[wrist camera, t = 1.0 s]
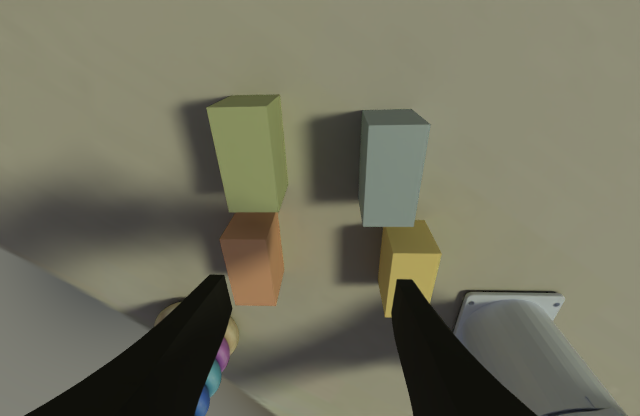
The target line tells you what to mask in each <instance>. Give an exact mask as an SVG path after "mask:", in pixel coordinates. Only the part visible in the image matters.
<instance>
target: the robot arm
mask: <svg viewBox="0 0 640 416" xmlns="http://www.w3.org/2000/svg"><path fill="white" fill-rule="evenodd" d="M470 301H471V302H470ZM564 301H565V297H564V296H563V295H562V294H560V293H511V292H469V293H467V294H466V295H465V298H464V301H463V304H462V307H461V310H460V313H459V316H458V319H457V323H456V326H455V329H454V332H452V331H451V330H450V329H449V328H448V326H447V325H446V324H445V323H444V321H443V320H442V319H441V318H440V316H439V315H438V314H437V313H436V311H435V310H434V309H433V307H432V306H431V305H430V303H429V302H428V301H427V299H426V298H425V296H424V295H423V294H422V292H421V291H420V289H419V288H418V286H417V285H416V284H415V282H414V281H413V280H412V279H397V281H396V287H395V293H394V299H393V305H392V311H391V316H392V324H393V331H394V337H395V342H396V346H397V350H398V353H399V357H400V361H401V365H402V369H403V373H404V377H405V381H406V385H407V388H408V392H409V396H410V401H411V405H412V410H413V416H627V414H626V413H625V412H624V411H623V409H622V408H621V407H620V405H619V404H618V403H617V402H616V400H615V399H614V398H613V397H612V395H611V394H610V393H609V392H608V390H607V389H606V388H605V387H604V385H603V384H602V383H601V381H600V380H599V379H598V378H597V376H596V375H595V374H594V373H593V371H592V370H591V369H590V368H589V366H588V365H587V364H586V363H585V361H584V360H583V359H582V357H581V356H580V355H579V354H578V352H577V351H576V350H575V349H574V347H573V346H572V345H571V344H570V342H569V341H568V340H567V338H566V337H565V336H564V335H563V333H562V332H561V331H560V330H559V328H558V327H557V326H556V325H555V323H554V322H553V320H554V318H555V316H556V315H557V313H558V311H559V309H560V308H561V306H562V304H563V302H564ZM231 312H232V305H231V301H230V297H229V293H228V289H227V284H226V280H225V276H224V275H209V276H208V277H207V278H206V279H205V280H204V281H203V282H202V283H201V284H200V285H199V286H198V287H197V288H196V289H195V290H193V291H192V292H191V293H190V294H189V295H188V296H187V297H186V298H185V299H184V300H183V301H182V302H181V303H180V304H179V305H178V306H177V307H176V308H175V309H174V310H173V311H171V312H170V313H169V314H168V315H167V316H166V317H165V318H164V319H163V320H162V321H160V322H159V323H158V324H157V325H156V326H155V327H154V328H152V329H151V330H150V331H149V332H148V333H147V334H145V335H144V336H143V337H142V338H141V339H139V340H138V341H137V342H136V343H134V344H133V345H132V346H130V347H129V348H128V349H126V350H125V351H124V352H123V353H121V354H120V355H119V356H117V357H116V358H114V359H113V360H112V361H110V362H109V363H107V364H106V365H104V366H103V367H102V368H100V369H99V370H97V371H96V372H94V373H93V374H91V375H90V376H88V377H87V378H85V379H84V380H83V381H81V382H79V383H78V384H76V385H75V386H73V387H71V388H70V389H68V390H67V391H65V392H64V393H62V394H60V395H59V396H57V397H55V398H54V399H52V400H50V401H49V402H47V403H46V404H44V405H42V406H40V407H39V408H37V409H35V410H34V411H32V412H30V413H28V414H26V415H25V416H194V415H195V411H196V408H197V405H198V402H199V399H200V396H201V393H202V390H203V388H204V385H205V383H206V380H207V378H208V375H209V373H210V370H211V368H212V366H213V363H214V361H215V358H216V356H217V353H218V351H219V348H220V346H221V343H222V341H223V338H224V336H225V333H226V330H227V326H228V323H229V319H230V315H231Z"/></svg>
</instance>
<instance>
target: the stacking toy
mask: <svg viewBox="0 0 640 416" xmlns="http://www.w3.org/2000/svg"><path fill="white" fill-rule="evenodd" d="M180 303H181V302H178V303H175V304H172V305H170V306H168V307H167V308H165V309H164V310H163V311H161V313H160V314H159V315H158V317H157V318H156V320H155V324H154V327H155V326H156V325H157V324H158V323H159V322H160V321H162V320H163V319H164V318H165V317H166V316H167V315H168V314H169V313H170V312H171V311H173V310H174V309H175V308H176V307H177V306H178V305H179V304H180ZM238 341H239V331H238V328H237V325H236V323H235V322H234V320H233V319H232V318H231V317H230V319H229V323H228V326H227V330H226V333H225V336H224V338H223V341H222V343H221V346H220V348H219V351H218V353H217V356H216V358H215V361H214V363H213V366H212V368H211V370H210V373H209V375H208V378H207V380H206V383H205V385H204V388H203V390H202V393H201V396H200V399H199V402H198V405H197V408H196V411H195V415H194V416H205V414H206V412H207V411H208V408H209V403H210V397H211V396H213V394H214V393H215V392H216V391H217V389H218V387H219V385H220V382H221V372H222V371H223V370H224V369H225V368H226V366H227V364H228V361H229V358H230V355H231V354H232V353H233V352H234V350H235V349H236V347H237V344H238Z"/></svg>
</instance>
